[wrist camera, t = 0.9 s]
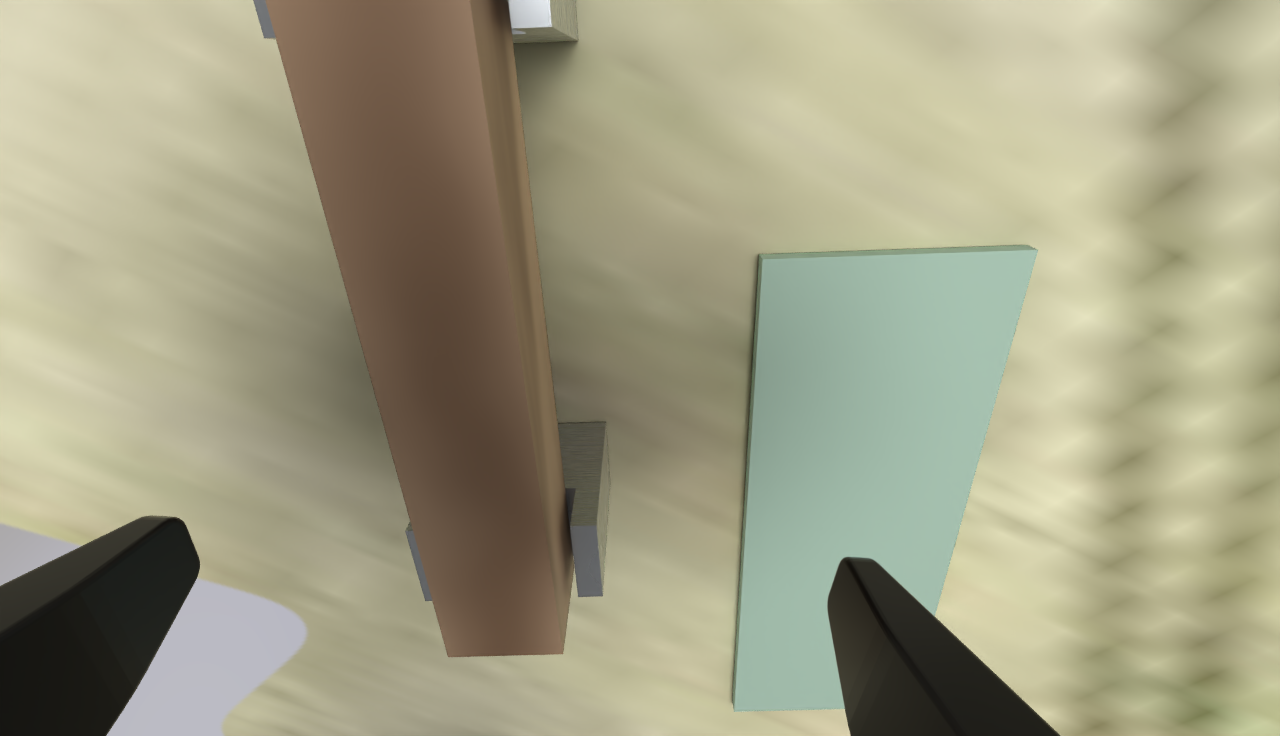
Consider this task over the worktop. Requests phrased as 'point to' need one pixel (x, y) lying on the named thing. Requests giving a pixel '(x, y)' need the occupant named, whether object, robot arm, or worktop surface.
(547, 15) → the post
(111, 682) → the robot arm
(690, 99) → the worktop surface
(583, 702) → the worktop surface
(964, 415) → the mat
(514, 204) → the rail
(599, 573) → the post
